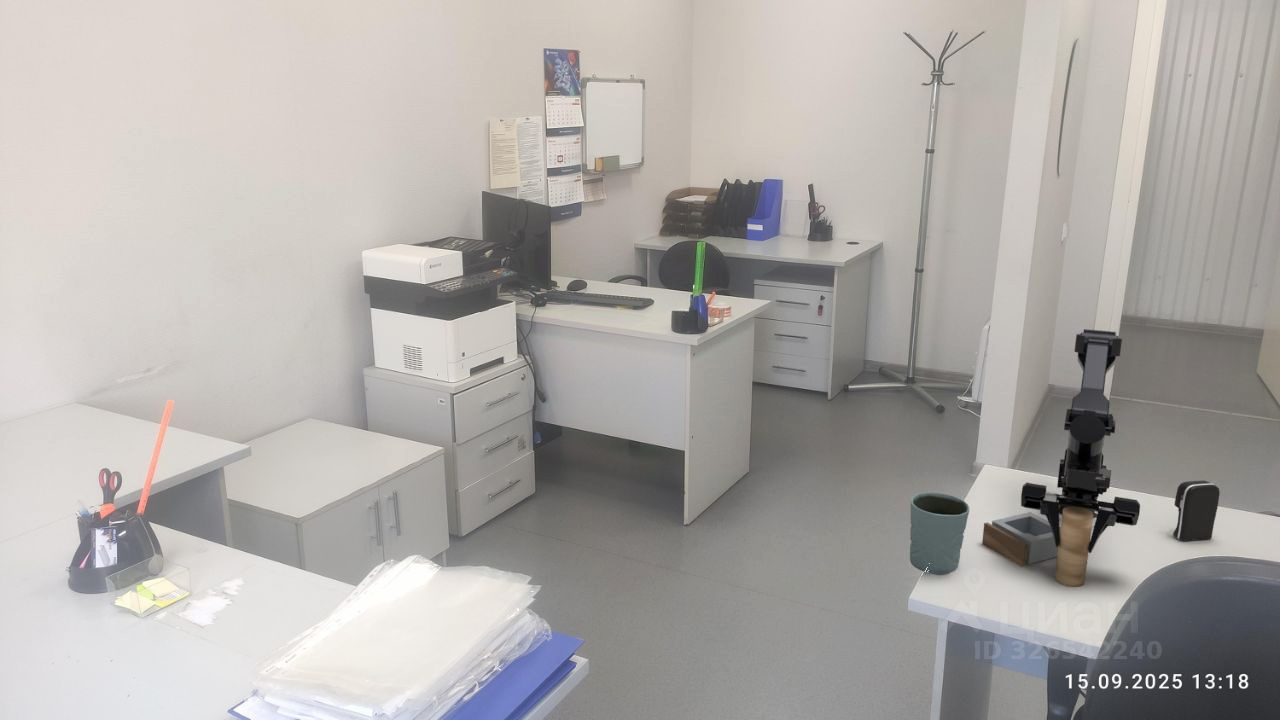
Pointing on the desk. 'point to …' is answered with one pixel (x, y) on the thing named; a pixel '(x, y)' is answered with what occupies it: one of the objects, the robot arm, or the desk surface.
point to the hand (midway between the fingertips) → (1073, 549)
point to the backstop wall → (1005, 544)
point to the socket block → (1031, 535)
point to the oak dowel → (1073, 546)
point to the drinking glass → (937, 531)
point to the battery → (1196, 510)
